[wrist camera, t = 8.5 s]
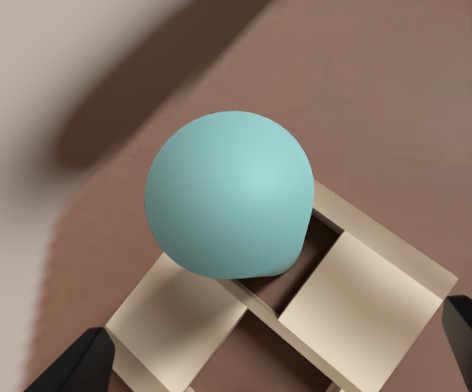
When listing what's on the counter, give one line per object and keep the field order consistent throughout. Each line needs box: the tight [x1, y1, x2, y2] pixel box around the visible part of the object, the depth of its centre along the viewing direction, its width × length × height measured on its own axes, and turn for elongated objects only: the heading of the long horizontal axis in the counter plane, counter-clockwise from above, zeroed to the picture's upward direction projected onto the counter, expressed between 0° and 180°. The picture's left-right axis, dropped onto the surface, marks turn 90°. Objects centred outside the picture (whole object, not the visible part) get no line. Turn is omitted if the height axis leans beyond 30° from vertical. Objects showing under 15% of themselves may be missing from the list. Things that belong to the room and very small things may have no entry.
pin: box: [145, 111, 314, 279], centre depth 13 cm, size 4×4×13 cm
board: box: [104, 179, 459, 392], centre depth 18 cm, size 14×12×2 cm
